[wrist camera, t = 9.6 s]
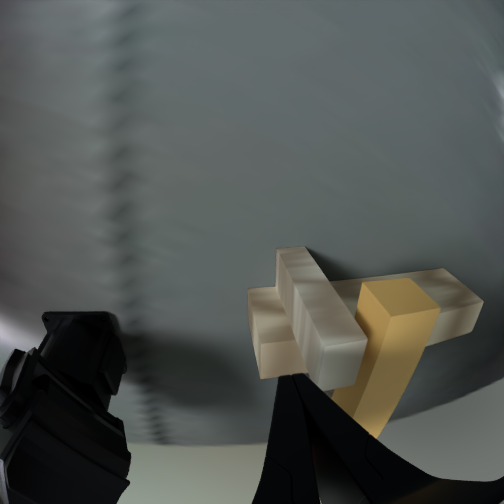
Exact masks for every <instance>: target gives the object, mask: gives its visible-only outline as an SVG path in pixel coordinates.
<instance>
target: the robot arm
mask: <svg viewBox="0 0 504 504" xmlns="http://www.w3.org/2000/svg"><path fill="white" fill-rule="evenodd" d="M46 317H47V318H48V319H47V318H46ZM101 317H102V318H105V320H104V319H102V318H101ZM42 321H43V323H44V325H45V328H46V330H47V334H46V336H45V337H44V339H43V341H42V343H41V344H40V346H39V348H38V350H37V349H36V348H35V347H34V348H32V349H31V350H30V351H28V352H27V353H26V352H25V351H21V350H18V349H14V350H13V351H12V352H11V354H10V356H9V357H8V359H7V361H6V362H5V364H4V366H3V368H2V371H1V374H0V504H117V502H118V500H119V498H120V496H121V494H122V493H123V492H124V490H125V489H126V488H127V487H128V486H129V484H130V481H129V480H127V479H126V478H127V475H128V472H129V467H130V463H131V453H130V452H129V451H128V449H127V443H126V437H125V431H124V424H123V421H122V420H120V419H119V418H118V417H114V416H113V415H112V414H110V413H109V412H108V407H109V403H110V399H111V395H114V396H115V395H116V394H117V393H118V389H119V385H120V381H121V377H122V374H125V373H126V371H127V366H126V363H125V362H126V358H125V355H124V352H123V349H122V346H121V344H120V341H119V338H118V337H117V336H116V335H115V332H114V329H113V326H112V323H111V320H110V317H109V315H108V314H107V313H105V312H44V314H43V315H42ZM319 497H320V498H319ZM320 500H321V503H322V504H504V476H503V477H502V478H500V479H498V480H495V481H488V482H481V481H462V480H450V479H441V478H437V477H434V476H431V475H429V474H427V473H425V472H424V471H422V470H420V469H419V468H417V467H415V466H414V465H412V464H411V463H409V462H407V461H406V460H404V459H403V458H401V457H400V456H398V455H397V454H395V453H394V452H392V451H391V450H389V449H388V448H387V447H386V446H384V445H383V444H382V443H381V442H379V441H378V440H377V439H376V438H375V437H374V436H372V435H371V434H370V435H369V432H368V431H367V430H365V429H364V428H363V427H362V426H361V425H360V424H359V423H358V422H356V421H355V420H354V419H353V418H352V417H351V416H350V415H349V414H348V413H346V412H345V411H344V410H343V409H342V408H341V407H340V406H339V405H338V404H336V403H335V402H334V401H333V400H332V399H331V398H330V397H329V396H328V395H327V394H326V393H325V392H323V391H322V390H321V389H320V388H319V387H318V386H317V385H316V384H315V383H314V382H313V381H312V380H311V379H310V378H309V377H308V376H306V375H305V374H304V373H295V374H292V375H290V374H288V375H280V376H279V377H278V383H277V390H276V396H275V403H274V409H273V415H272V421H271V427H270V433H269V439H268V445H267V450H266V457H265V461H264V466H263V471H262V475H261V479H260V482H259V485H258V488H257V491H256V494H255V496H254V499H253V501H252V504H320Z"/></svg>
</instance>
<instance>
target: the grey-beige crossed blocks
mask: <svg viewBox="0 0 504 504" xmlns="http://www.w3.org/2000/svg"><path fill="white" fill-rule="evenodd" d="M401 278H410V279H411V280H412V281H413V282H415V283H416V284H417V285H418V286H419V287H420V288H421V289H422V290H423V291H424V292H425V293H426V294H427V295H428V296H429V297H430V298H431V299H432V300H434V301H435V302H436V303H437V304H438V305H439V306H440V307H441V309H440V311H439V314H438V317H437V319H436V322H435V325H434V327H433V330H432V332H431V335H430V337H429V339H428V342H427V344H426V346H429V345H433V344H436V343H439V342H442V341H445V340H449V339H452V338H455V337H458V336H461V335H464V334H466V333H469V332H472V330H473V328H474V325H475V323H476V321H477V318H478V316H479V313H480V311H481V308H482V305H483V303H484V301H483V300H481V299H480V298H479V297H478V296H477V295H476V294H474V293H473V292H472V291H471V290H470V289H469V288H467V287H466V286H465V285H464V284H462V283H461V282H460V281H459V280H458V279H456V278H455V277H454V276H453V275H451V274H450V273H449V272H448V271H446V270H445V269H444V268H440V269H433V270H425V271H417V272H410V273H402V274H393V275H385V276H376V277H368V278H359V279H349V280H340V281H330V282H329V281H328V279H327V278H326V276H325V275H324V273H323V272H322V271H321V269H320V268H319V266H318V265H317V263H316V262H315V261H314V259H313V258H312V256H311V255H310V254H309V252H308V251H307V249H306V248H305V247H292V248H276V285H275V287H263V288H250V289H248V313H249V326H250V331H251V336H252V341H253V346H254V350H255V355H256V360H257V365H258V370H259V375H260V379H265V378H274V377H279V376H280V375H288V374H290V375H292V374H295V373H309V376H310V379H311V380H312V381H313V382H314V383H315V384H316V385H317V386H318V387H319V388H320V389H321V390H322V391H327V390H332V389H337V388H341V387H346V386H351V385H354V384H355V381H356V378H357V375H358V371H359V368H360V365H361V362H362V358H363V355H364V351H365V348H366V344H367V341H368V339H367V337H366V335H365V334H364V332H363V331H362V329H361V328H360V326H359V325H358V323H357V322H356V320H355V319H354V317H355V313H356V309H357V304H358V300H359V295H360V291H361V286H362V282H369V281H380V280H390V279H401ZM426 346H425V347H426Z"/></svg>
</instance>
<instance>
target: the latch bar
mask: <svg viewBox="0 0 504 504" xmlns="http://www.w3.org/2000/svg"><path fill="white" fill-rule="evenodd" d="M440 309H441V307H440V306H439V305H438V304H437V303H436V302H435V301H434V300H432V299H431V298H430V297H429V296H428V295H427V294H426V293H425V292H424V291H423V290H422V289H421V288H420V287H419V286H418V285H417V284H416V283H415V282H413V281H412V280H411V279H410V278H401V279H390V280H380V281H369V282H362V286H361V291H360V295H359V300H358V304H357V309H356V313H355V317H354V319H355V320H356V322H357V323H358V325H359V326H360V328H361V329H362V331H363V332H364V334H365V335H366V337H367V339H368V341H367V344H366V348H365V351H364V355H363V358H362V362H361V365H360V368H359V371H358V375H357V378H356V381H355V384H354V385H351V386H346V387H341V388H337V389H334V393H333V396H332V400H333V401H334V402H335V403H336V404H338V405H339V406H340V407H341V408H342V409H343V410H344V411H345V412H346V413H348V414H349V415H350V416H351V417H352V418H353V419H354V420H355V421H356V422H358V423H359V424H360V425H361V426H362V427H363V428H364V429H365V430H367V431H368V432H369V435H370V434H371V435H372V436H374V437H375V438H376V439H377V437H378V436H379V435H380V433H381V431H382V429H383V428H384V426H385V425H386V423H387V421H388V420H389V418H390V416H391V414H392V413H393V411H394V409H395V407H396V406H397V404H398V402H399V400H400V398H401V396H402V395H403V393H404V391H405V389H406V387H407V385H408V383H409V381H410V379H411V377H412V375H413V373H414V371H415V369H416V366H417V364H418V362H419V360H420V358H421V356H422V353H423V351H424V349H425V346H426V344H427V342H428V339H429V337H430V335H431V332H432V330H433V327H434V325H435V322H436V319H437V317H438V314H439V311H440Z"/></svg>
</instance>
